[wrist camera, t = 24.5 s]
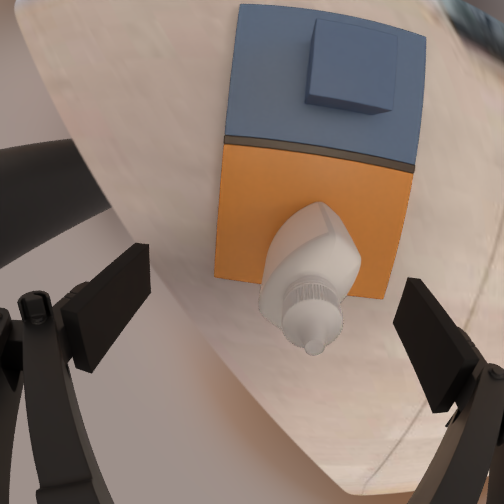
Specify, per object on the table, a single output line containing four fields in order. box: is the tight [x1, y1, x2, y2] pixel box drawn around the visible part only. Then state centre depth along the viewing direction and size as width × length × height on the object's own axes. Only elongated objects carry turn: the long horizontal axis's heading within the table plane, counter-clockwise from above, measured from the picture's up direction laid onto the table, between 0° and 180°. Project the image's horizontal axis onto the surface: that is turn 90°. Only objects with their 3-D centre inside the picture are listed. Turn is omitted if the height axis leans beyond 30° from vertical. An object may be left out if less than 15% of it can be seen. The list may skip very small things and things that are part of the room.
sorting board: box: [214, 4, 426, 299], centre depth 20 cm, size 13×20×1 cm, turn 174°
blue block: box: [304, 18, 398, 115], centre depth 15 cm, size 4×4×4 cm
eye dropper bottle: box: [259, 202, 361, 356], centre depth 16 cm, size 4×6×12 cm
